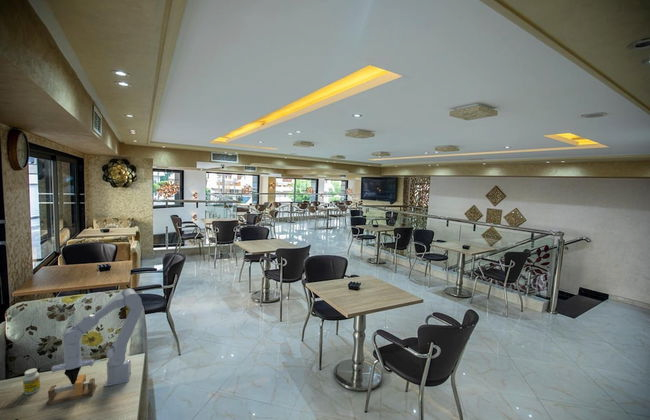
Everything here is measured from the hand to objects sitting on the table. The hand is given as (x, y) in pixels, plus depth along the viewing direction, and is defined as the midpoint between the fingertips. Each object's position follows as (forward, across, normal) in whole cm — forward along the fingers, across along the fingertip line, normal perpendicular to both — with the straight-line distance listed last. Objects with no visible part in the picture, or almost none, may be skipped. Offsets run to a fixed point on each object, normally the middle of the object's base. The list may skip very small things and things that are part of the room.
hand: (74, 382), depth 135 cm
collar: (+5, -2, 0) cm, 5 cm away
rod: (+3, +1, 0) cm, 3 cm away
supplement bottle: (+6, +18, -10) cm, 21 cm away
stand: (+6, +1, 0) cm, 6 cm away
